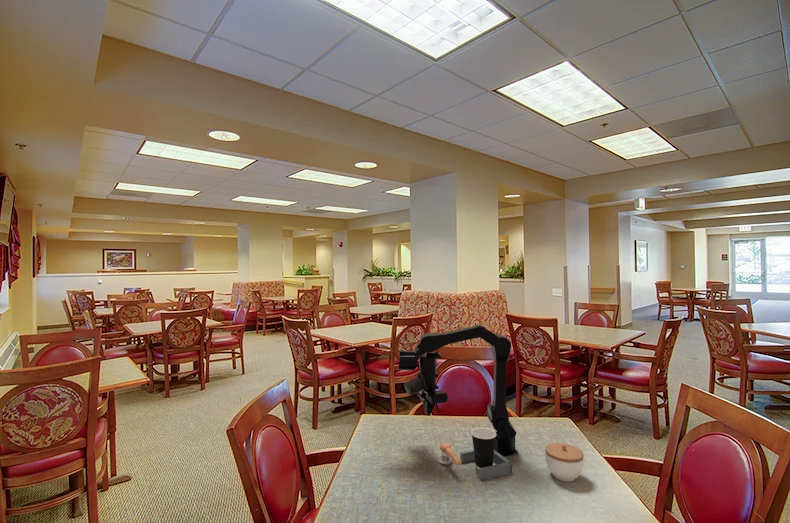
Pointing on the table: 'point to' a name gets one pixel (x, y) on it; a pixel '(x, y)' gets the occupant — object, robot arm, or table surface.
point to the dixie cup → (483, 446)
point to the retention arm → (450, 453)
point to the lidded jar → (564, 461)
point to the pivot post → (445, 459)
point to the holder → (491, 471)
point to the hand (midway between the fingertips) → (428, 415)
